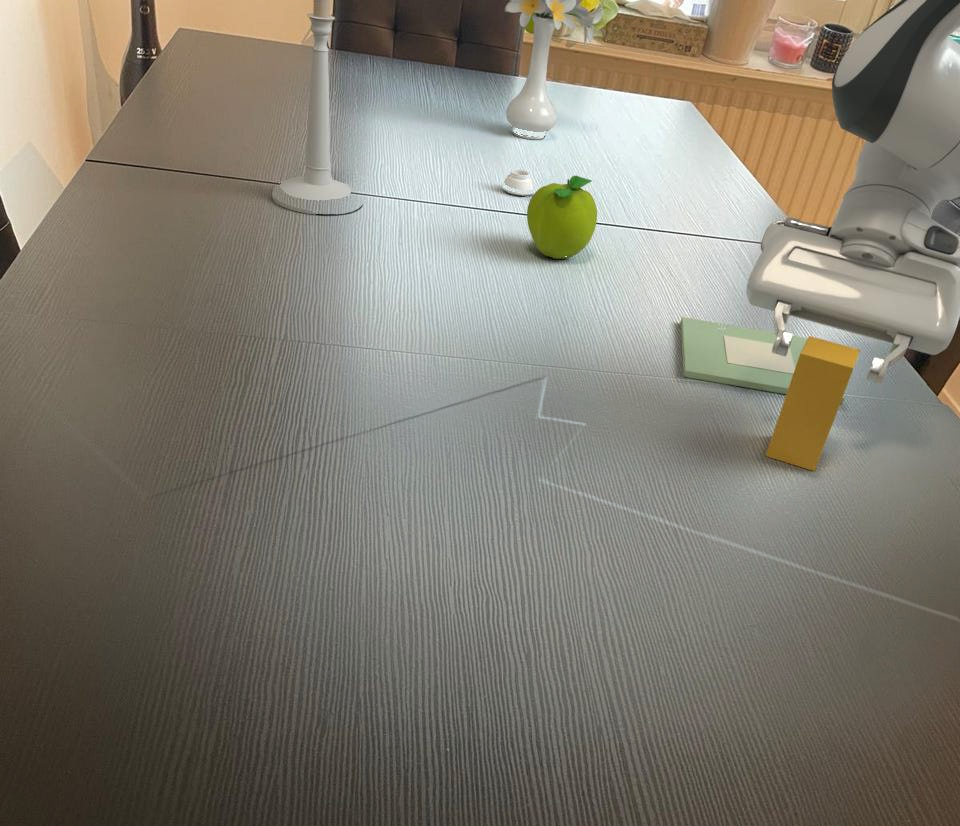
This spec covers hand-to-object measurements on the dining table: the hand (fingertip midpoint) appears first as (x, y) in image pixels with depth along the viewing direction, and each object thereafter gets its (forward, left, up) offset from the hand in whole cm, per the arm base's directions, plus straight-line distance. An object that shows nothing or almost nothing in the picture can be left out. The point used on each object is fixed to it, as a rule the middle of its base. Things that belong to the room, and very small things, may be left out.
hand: (826, 365), depth 100 cm
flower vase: (+38, -107, -9) cm, 114 cm away
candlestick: (+64, -50, -9) cm, 82 cm away
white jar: (+37, -70, -9) cm, 80 cm away
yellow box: (+1, +3, -9) cm, 9 cm away
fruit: (+29, -44, -9) cm, 54 cm away
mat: (+3, -19, -9) cm, 21 cm away
